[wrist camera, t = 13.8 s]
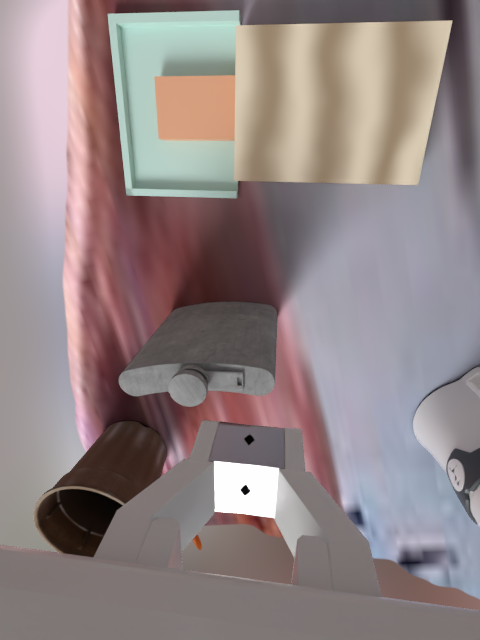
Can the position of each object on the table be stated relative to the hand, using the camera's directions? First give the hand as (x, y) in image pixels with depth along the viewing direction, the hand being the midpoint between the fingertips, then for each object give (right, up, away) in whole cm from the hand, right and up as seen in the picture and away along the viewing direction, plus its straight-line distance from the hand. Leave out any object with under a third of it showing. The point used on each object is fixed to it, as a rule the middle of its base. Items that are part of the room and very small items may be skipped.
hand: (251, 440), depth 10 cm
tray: (-7, +28, +30) cm, 41 cm away
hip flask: (-3, +5, +39) cm, 40 cm away
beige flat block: (+9, +27, +28) cm, 40 cm away
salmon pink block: (-5, +28, +29) cm, 40 cm away
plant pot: (-19, -19, +51) cm, 58 cm away
